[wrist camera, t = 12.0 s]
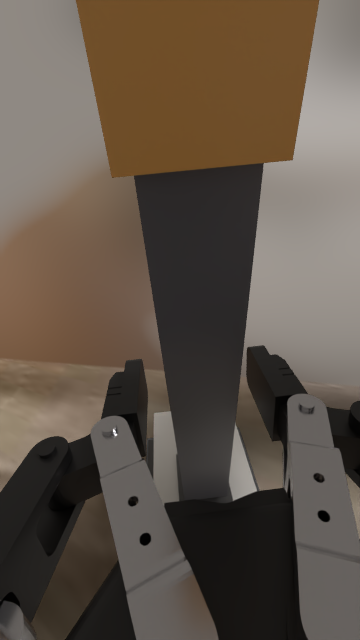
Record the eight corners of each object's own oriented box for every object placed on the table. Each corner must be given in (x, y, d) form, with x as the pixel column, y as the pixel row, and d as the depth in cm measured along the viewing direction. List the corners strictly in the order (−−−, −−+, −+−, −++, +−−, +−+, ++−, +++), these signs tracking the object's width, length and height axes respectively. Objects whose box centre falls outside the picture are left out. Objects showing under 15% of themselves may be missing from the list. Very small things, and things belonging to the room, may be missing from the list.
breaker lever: (235, 504, 17) (342, -138, 3) (179, 511, 17) (52, -116, 3) (224, 453, 19) (261, -60, 6) (175, 459, 19) (89, -46, 6)
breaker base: (336, 743, 14) (360, 699, 11) (139, 772, 14) (114, 734, 11) (238, 434, 30) (238, 385, 27) (148, 445, 30) (139, 397, 27)
